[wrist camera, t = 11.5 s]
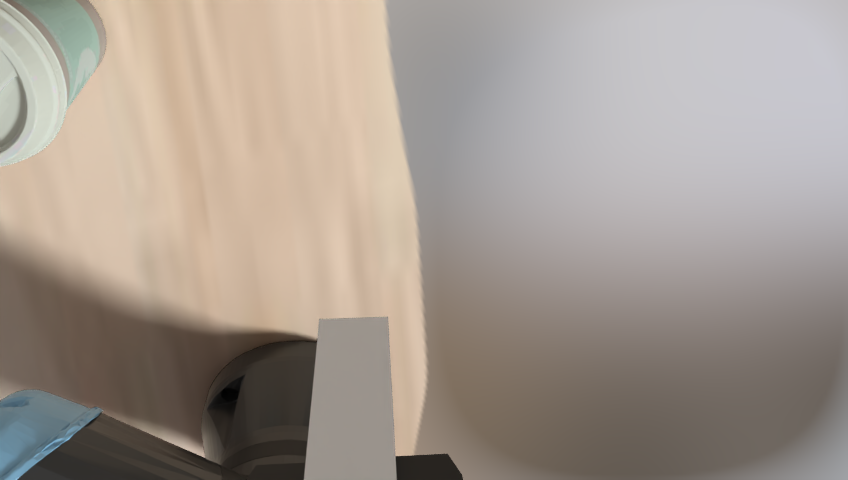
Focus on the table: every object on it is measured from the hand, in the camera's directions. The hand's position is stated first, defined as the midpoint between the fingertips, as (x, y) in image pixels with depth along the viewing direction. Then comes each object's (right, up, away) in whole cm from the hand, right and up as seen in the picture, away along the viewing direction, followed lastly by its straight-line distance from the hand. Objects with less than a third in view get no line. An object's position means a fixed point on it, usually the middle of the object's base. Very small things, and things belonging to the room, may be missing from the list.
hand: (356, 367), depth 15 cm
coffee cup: (-20, +15, +25) cm, 36 cm away
